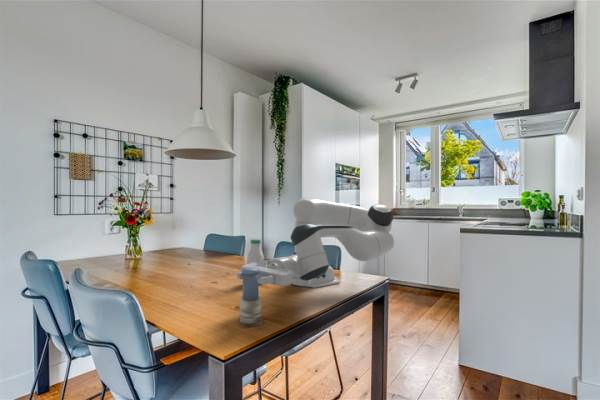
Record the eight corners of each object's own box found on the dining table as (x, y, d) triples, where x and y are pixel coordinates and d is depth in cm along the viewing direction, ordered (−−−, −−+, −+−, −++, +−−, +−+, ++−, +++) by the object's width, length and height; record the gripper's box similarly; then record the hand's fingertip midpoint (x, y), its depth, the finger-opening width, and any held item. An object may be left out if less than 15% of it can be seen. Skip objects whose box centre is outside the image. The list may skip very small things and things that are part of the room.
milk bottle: (249, 286, 135) (249, 240, 135) (245, 282, 142) (245, 238, 142) (266, 284, 138) (266, 239, 138) (261, 280, 145) (261, 238, 145)
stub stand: (258, 317, 98) (258, 294, 98) (264, 325, 92) (264, 300, 92) (237, 320, 95) (237, 296, 95) (241, 328, 89) (241, 303, 89)
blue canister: (256, 295, 97) (256, 266, 97) (261, 300, 92) (261, 270, 92) (240, 297, 95) (240, 268, 95) (243, 302, 90) (243, 271, 90)
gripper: (303, 285, 97) (273, 295, 86) (259, 275, 110) (227, 283, 99) (303, 265, 97) (273, 273, 86) (259, 258, 110) (228, 264, 99)
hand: (248, 278), depth 93 cm, fingers open, 8 cm apart
